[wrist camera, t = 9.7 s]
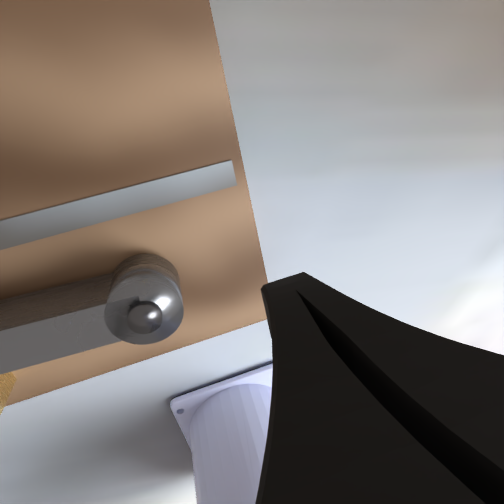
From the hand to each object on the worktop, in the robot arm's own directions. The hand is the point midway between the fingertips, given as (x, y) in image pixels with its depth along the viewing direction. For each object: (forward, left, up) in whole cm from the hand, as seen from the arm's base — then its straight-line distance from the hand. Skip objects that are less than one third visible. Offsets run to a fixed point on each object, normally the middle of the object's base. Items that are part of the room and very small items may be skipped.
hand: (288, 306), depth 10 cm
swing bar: (-2, +11, -7) cm, 14 cm away
